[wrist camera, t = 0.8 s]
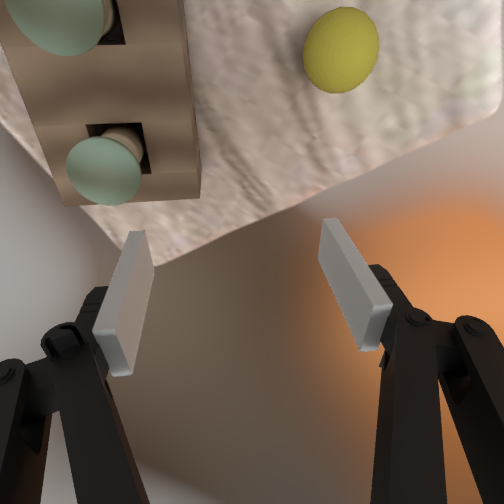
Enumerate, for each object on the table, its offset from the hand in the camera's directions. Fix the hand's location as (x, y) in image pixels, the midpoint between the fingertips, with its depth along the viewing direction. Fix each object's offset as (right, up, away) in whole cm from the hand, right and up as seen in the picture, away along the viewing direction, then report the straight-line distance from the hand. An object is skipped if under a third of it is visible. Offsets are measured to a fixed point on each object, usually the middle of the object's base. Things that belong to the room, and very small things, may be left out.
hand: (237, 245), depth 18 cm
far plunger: (-12, +11, +16) cm, 23 cm away
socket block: (-13, +19, +17) cm, 28 cm away
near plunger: (-12, +20, +9) cm, 25 cm away
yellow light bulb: (+8, +22, +17) cm, 29 cm away
